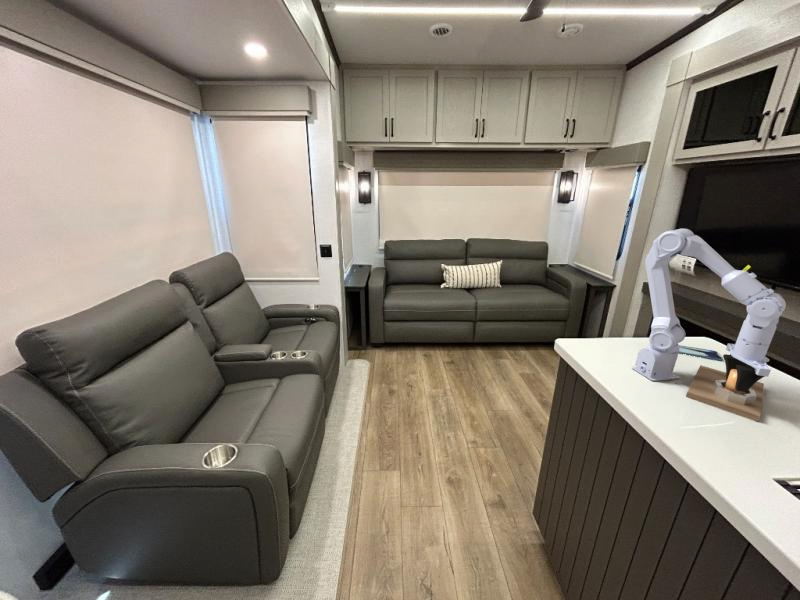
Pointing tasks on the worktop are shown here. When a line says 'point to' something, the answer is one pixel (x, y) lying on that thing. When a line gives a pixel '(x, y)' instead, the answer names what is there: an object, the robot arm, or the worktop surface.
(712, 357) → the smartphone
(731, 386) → the orange rounded cylinder
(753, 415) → the mount board
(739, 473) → the worktop surface
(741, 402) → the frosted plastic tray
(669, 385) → the worktop surface
